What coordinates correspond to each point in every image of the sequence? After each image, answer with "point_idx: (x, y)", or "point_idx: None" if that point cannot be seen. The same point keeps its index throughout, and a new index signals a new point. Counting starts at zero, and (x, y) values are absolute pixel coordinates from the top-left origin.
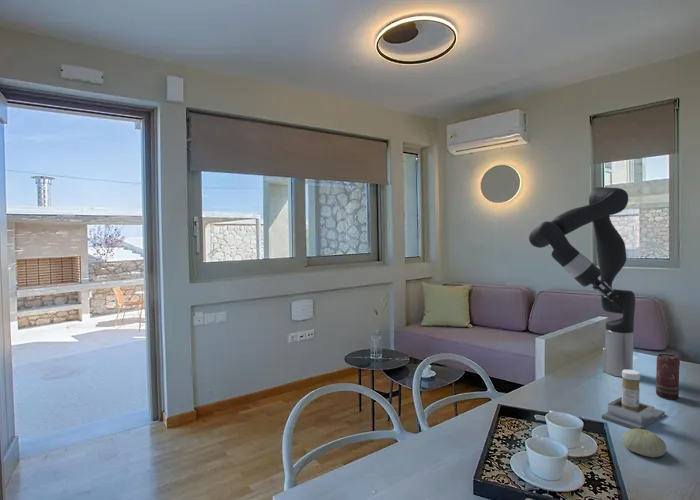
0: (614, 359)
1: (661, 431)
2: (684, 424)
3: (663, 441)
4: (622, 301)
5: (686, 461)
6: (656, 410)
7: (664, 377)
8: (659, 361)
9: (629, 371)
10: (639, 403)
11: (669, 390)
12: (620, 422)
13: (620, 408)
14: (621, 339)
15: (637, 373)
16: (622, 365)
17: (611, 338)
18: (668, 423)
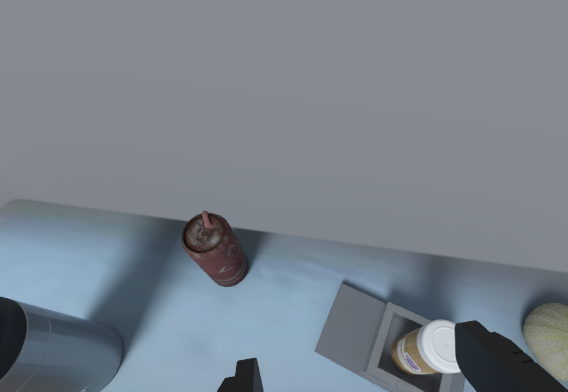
0: (86, 372)
1: (434, 301)
2: (370, 259)
3: (564, 305)
4: (509, 353)
5: (539, 278)
6: (344, 297)
7: (237, 259)
8: (219, 256)
9: (448, 349)
10: (387, 330)
11: (245, 260)
12: (463, 381)
13: (450, 379)
14: (44, 345)
15: (453, 326)
16: (104, 349)
17: (23, 383)
18: (383, 284)
